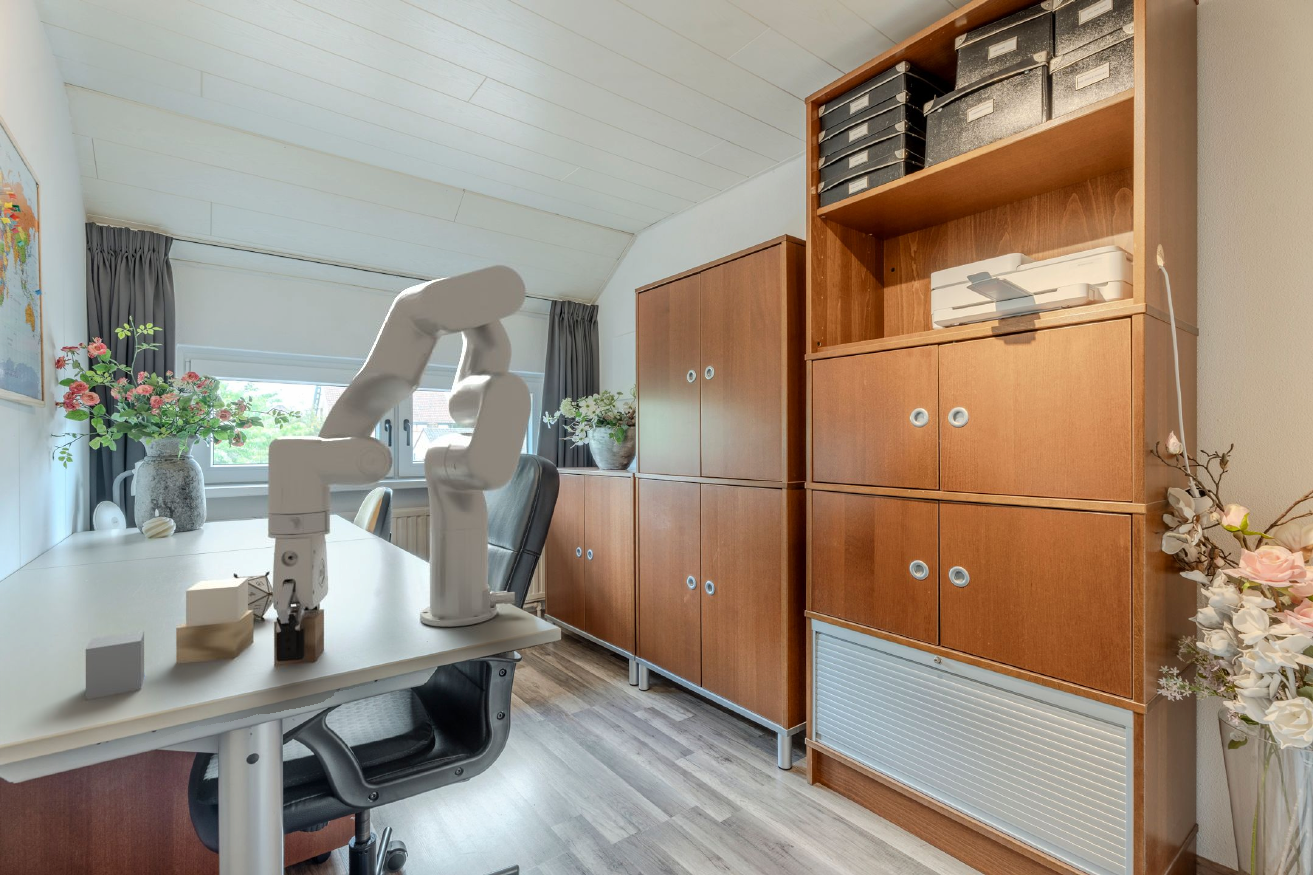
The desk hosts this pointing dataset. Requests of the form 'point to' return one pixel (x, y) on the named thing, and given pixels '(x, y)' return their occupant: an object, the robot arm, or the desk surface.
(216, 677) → the desk surface
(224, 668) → the desk surface
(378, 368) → the robot arm
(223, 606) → the tower top
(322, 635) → the walnut block
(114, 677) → the slate block
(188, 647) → the tower base
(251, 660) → the desk surface
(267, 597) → the game die
